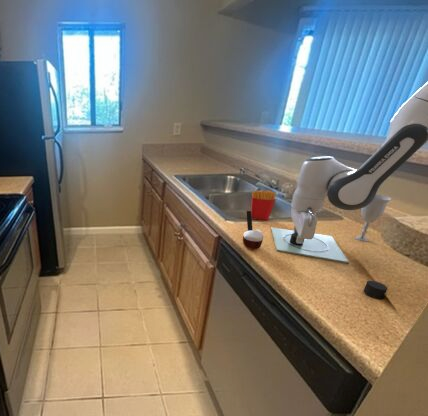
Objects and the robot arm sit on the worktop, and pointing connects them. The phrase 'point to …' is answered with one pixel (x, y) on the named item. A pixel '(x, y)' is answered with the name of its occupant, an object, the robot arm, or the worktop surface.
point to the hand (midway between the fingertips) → (297, 239)
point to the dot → (375, 289)
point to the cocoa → (252, 235)
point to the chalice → (372, 213)
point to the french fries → (262, 204)
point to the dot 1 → (294, 240)
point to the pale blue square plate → (309, 246)
